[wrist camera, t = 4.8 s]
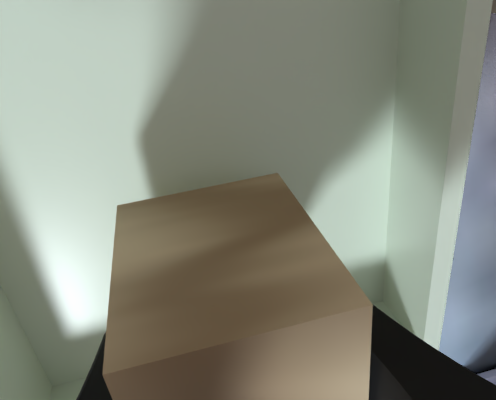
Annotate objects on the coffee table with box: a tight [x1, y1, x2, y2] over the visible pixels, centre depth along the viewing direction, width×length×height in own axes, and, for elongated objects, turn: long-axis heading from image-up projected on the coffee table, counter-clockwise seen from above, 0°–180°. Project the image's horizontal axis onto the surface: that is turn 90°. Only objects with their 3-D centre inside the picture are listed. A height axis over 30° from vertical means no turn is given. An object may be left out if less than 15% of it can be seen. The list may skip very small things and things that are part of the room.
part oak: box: [102, 173, 373, 400], centre depth 9 cm, size 4×4×5 cm
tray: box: [0, 0, 493, 400], centre depth 10 cm, size 18×13×3 cm
